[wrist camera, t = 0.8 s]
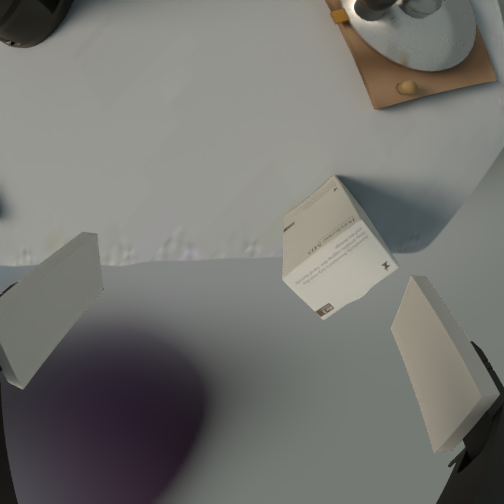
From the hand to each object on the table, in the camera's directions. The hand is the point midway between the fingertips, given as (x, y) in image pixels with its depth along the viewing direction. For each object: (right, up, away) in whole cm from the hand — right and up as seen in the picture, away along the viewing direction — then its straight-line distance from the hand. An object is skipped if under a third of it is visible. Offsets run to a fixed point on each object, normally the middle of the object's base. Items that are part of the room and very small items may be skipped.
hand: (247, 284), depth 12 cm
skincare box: (+9, +6, +25) cm, 27 cm away
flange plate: (+18, +29, +11) cm, 36 cm away
